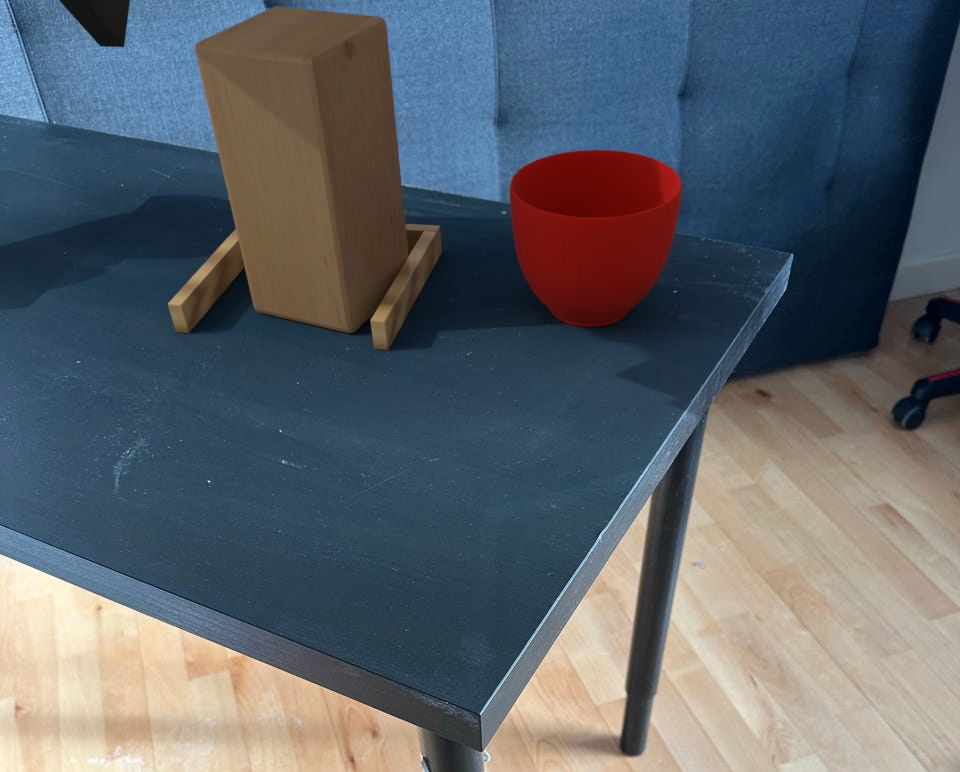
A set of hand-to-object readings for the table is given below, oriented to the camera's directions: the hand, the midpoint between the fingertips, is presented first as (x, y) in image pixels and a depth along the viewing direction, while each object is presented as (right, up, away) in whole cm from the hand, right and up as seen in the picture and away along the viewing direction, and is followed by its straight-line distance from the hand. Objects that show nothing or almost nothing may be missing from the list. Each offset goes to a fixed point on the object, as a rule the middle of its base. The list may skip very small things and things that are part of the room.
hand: (115, 22), depth 53 cm
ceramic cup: (+29, -6, +26) cm, 40 cm away
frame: (+6, -5, +28) cm, 29 cm away
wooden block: (+8, -6, +27) cm, 29 cm away
